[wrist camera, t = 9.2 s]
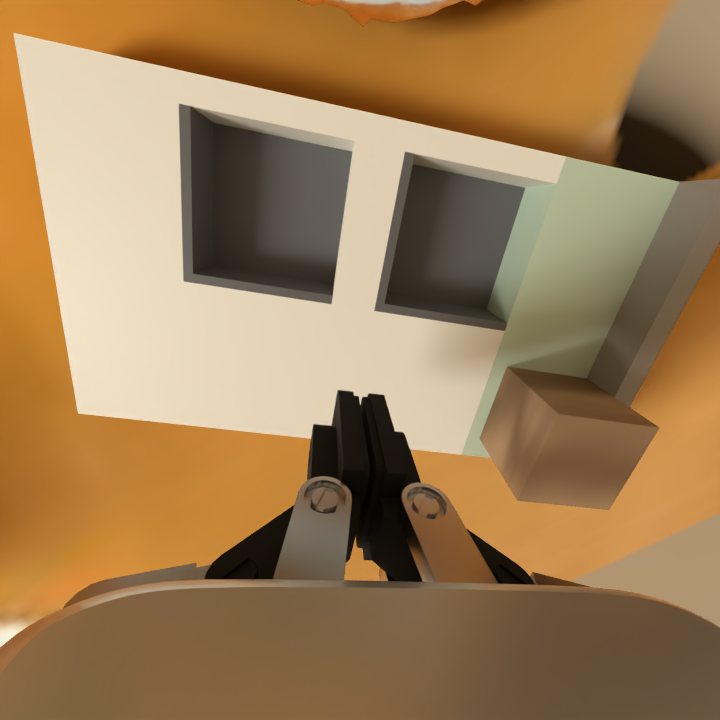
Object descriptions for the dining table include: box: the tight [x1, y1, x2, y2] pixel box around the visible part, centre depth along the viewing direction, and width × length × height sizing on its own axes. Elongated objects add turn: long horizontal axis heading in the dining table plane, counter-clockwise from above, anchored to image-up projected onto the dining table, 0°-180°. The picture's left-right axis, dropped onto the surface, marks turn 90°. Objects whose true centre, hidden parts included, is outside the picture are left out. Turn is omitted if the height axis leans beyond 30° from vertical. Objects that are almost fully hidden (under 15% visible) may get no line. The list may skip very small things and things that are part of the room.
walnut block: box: [479, 366, 659, 510], centre depth 17 cm, size 4×4×4 cm
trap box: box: [14, 33, 720, 458], centre depth 16 cm, size 15×26×5 cm, turn 80°
